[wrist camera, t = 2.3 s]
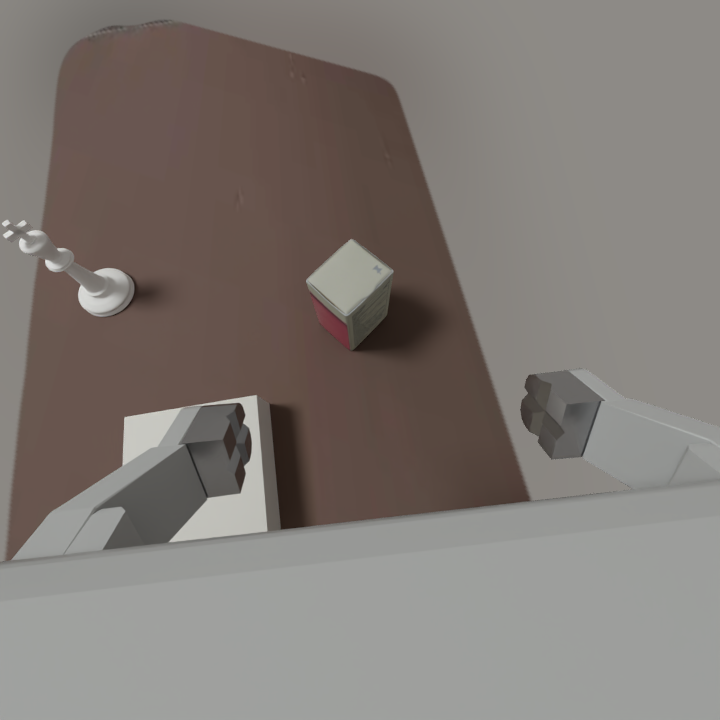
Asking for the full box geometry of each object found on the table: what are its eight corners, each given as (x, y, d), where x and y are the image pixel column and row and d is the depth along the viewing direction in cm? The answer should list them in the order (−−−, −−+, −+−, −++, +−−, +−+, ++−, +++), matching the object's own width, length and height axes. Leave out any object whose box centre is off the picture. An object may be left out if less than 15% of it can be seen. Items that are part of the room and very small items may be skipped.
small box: (355, 288, 33) (352, 235, 26) (388, 316, 32) (395, 269, 25) (317, 323, 32) (302, 279, 24) (351, 353, 31) (346, 317, 24)
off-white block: (281, 528, 27) (267, 538, 23) (154, 551, 27) (119, 565, 23) (270, 404, 30) (256, 395, 26) (155, 423, 30) (124, 417, 26)
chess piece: (72, 295, 33) (-45, 225, 24) (114, 262, 34) (18, 182, 25) (102, 326, 32) (-8, 267, 23) (145, 291, 33) (56, 220, 24)
